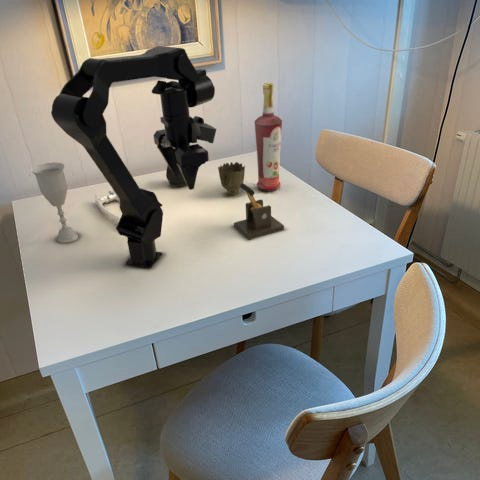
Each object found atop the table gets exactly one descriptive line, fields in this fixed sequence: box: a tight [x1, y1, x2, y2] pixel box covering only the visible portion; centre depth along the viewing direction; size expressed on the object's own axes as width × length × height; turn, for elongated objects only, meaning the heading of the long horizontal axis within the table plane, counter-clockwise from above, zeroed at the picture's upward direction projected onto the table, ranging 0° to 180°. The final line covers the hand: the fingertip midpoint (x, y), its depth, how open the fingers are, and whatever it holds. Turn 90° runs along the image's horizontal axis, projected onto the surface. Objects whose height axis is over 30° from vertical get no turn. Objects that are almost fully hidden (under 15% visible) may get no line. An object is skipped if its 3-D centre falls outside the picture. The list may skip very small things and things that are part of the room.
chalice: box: [31, 161, 79, 244], centre depth 118 cm, size 7×7×18 cm
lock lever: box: [240, 182, 262, 213], centre depth 118 cm, size 9×5×2 cm
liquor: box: [254, 82, 283, 192], centre depth 134 cm, size 7×7×28 cm
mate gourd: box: [165, 165, 187, 188], centre depth 145 cm, size 7×8×10 cm
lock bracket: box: [233, 199, 285, 240], centre depth 121 cm, size 10×8×6 cm
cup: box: [217, 161, 246, 197], centre depth 138 cm, size 8×7×8 cm
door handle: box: [94, 189, 121, 224], centre depth 132 cm, size 3×10×25 cm
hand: (184, 182), depth 115 cm, fingers open, 9 cm apart
